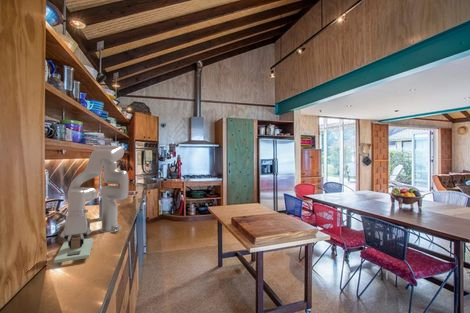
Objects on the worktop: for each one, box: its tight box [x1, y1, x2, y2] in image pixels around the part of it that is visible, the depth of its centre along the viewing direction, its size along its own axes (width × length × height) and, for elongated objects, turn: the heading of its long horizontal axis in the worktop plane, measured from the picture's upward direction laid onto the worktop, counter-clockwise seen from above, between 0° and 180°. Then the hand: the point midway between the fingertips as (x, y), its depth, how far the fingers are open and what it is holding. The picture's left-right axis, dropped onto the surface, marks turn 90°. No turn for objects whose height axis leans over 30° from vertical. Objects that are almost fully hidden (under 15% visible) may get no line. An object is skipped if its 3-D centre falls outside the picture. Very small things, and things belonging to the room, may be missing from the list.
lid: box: [53, 237, 94, 264], centre depth 124 cm, size 14×26×6 cm, turn 28°
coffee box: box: [98, 198, 102, 221], centre depth 192 cm, size 9×6×16 cm
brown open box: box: [57, 217, 91, 245], centre depth 150 cm, size 14×26×8 cm, turn 28°
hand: (76, 246), depth 125 cm, fingers closed on lid, 4 cm apart
